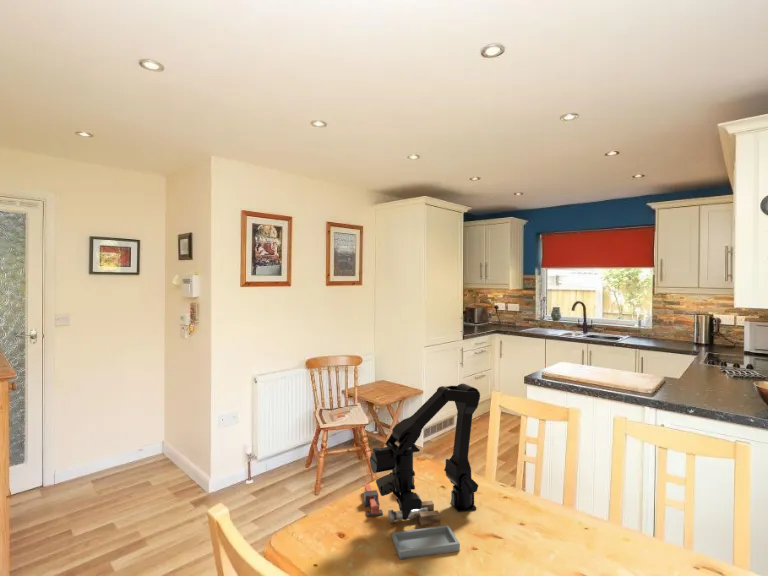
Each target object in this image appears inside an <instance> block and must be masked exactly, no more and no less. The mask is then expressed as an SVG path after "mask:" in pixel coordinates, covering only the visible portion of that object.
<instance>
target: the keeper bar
mask: <svg viewBox="0 0 768 576" xmlns="http://www.w3.org/2000/svg"><path fill="white" fill-rule="evenodd" d="M364 491H373V489H372V487H371V485H370V483H365V484H364ZM368 500H369V503H370V511H371V513H372V514H378V513H379V510H380V503H379V504H376V501H375V498H374V497H369V498H368Z"/></svg>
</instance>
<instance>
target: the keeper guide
mask: <svg viewBox="0 0 768 576" xmlns="http://www.w3.org/2000/svg"><path fill="white" fill-rule="evenodd" d="M378 492H379V491H378V490H377V489H375V490H373V489H372V491H365V490H364V491H363V500H362V504H363V506H364V508H368V507H370V508H371V506H370V503H369V500H368V498H369V497H374V498H375V501H376V504H379V505H380V501H379V493H378ZM365 512H366V513H365V514H366V517H374V516H383V515H384V512H383V509H381V508H380V509H379V513H378V514H372V513H371V510H366V511H365Z"/></svg>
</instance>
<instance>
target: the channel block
mask: <svg viewBox="0 0 768 576" xmlns="http://www.w3.org/2000/svg"><path fill="white" fill-rule="evenodd" d="M426 507H427V508H428V512H420V513H419V518H416V519H417V521H418V522H419V525H420V527H427V526H436V525H441V514H440V512H439V510H437V509H436V510H435V504H434V502H433V500H424V501H423V500H422V508H426Z"/></svg>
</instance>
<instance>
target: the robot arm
mask: <svg viewBox="0 0 768 576" xmlns="http://www.w3.org/2000/svg"><path fill="white" fill-rule="evenodd" d="M480 399H481V393H480V391H479V390H478V389H477V388H476V387H474V386H471V385H469V384H466V383H459V384H458V385H447V386H443V385H442V386H441V385H440V386H439V387H438V388H437V389H436V391H435V392H434V393H433V394H432V395H431V396H430V397H429V398H428V399H427V400H426V401H425V402H424V403H423V404H422V405H421V406H420V407H419V408H418V409H417V410H416V412H414V413H413V414H411V416H408V417H406V418H403V419H402V420H401V421H400V422H398V423H397V424H395V425H394V426H393V427H392V430H391V431H392V432H391V434H390V436H389V437H388V438H387V441H386V442H385V444H384V445H385V446H384V447H375V448H373V449H372V452H371V453H370V457H369V466H370V469H371V472H372V473H373V474H378V473H382V472H389V471H391V472H389V473H387V474H385V475H384V476H381V477H378V478H377V479H376V480H375V483H376V486H377V489H378V492H379V494H380V496H381V497H384V496H387V495H390V494H391V493H392V494H393V495H395V497H396V499H395V501H396V503H397V504H398V509H399V511H401V510H402V517H403V520H402V521H407V520H408V519H407V518H408V516H409V514H410V512H411V510H416V509H421V508H422V502H423V500H422V499H421V497H420V495H418V493H417V492H414V490H416V484H415V483H414V484H413V476H414V477H415V476H416V473H415V471H414V453H419V452H420V451H421V450H420V448H419V447H417V445H416V442H417V441H418V440H419V439H420V436H421V434H422V431H423V429H424V427H425V426H427V424H428V423H429V422H430V421H431V420H432V419H433V418H434V417H435V416H436V415H437V414H438V413H439V412H440V411H441V410H442V409H443V408H444V407H445V405H446V404H447V403H449V402H454V403H455V406H456V407H455V408H456V409H457V414H456V421H455V432H454V442H453V452H452V455H451V456H450V458H446V459H445V467H444V472H445V476H446V477H447V479H448V480H449V481H450V483H451V484H452V490H451V492H450V493H451V500H450V502H451V504H452V506H453V507H454V509H456V511H457V512H458V513H459V512H468V511H476V510H477V507H476V505H475V493H477V492H478V488H479V484H478V483H477V482H476V481H475V480H474V479H473V478H472V467H471V464H470V461H469V450H470V439H471V433H472V432H471V431H472V423H473V414H474V413H475V412H476V410H477V409H478V406H479V403H480ZM396 443H398V445H397V444H396ZM412 490H413V491H412Z"/></svg>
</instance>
